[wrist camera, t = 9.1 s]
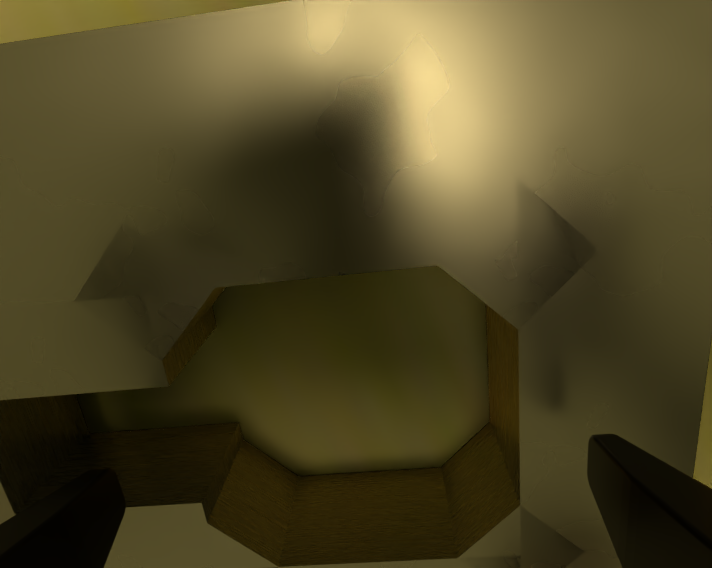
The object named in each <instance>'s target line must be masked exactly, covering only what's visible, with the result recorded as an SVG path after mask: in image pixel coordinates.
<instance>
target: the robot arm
mask: <svg viewBox="0 0 712 568" xmlns="http://www.w3.org/2000/svg"><path fill="white" fill-rule="evenodd" d="M587 478H588V482H589V486H590V488H591V491H592V494H593V496H594V499H595V501H596V504H597V506H598V509H599V511H600V514H601V516H602V519H603V521H604V524H605V526H606V529H607V531H608V534H609V536H610V539H611V541H612V544H613V546H614V549H615V551H616V554H617V556H618V559H619V561H620V563H621V566H622V568H712V489H711V488H709V487H708V486H706V485H704V484H702V483H701V482H699V481H697V480H695V479H694V478H692V477H690V476H688V475H687V474H685V473H683V472H681V471H680V470H678V469H676V468H674V467H673V466H671V465H669V464H667V463H665V462H664V461H662V460H660V459H658V458H657V457H655V456H653V455H651V454H650V453H648V452H646V451H644V450H643V449H641V448H639V447H637V446H636V445H634V444H632V443H630V442H629V441H627V440H625V439H623V438H621V437H620V436H618V435H616V434H597V435H592V436H591V437H590V438H589V441H588V460H587ZM125 509H126V501H125V497H124V494H123V491H122V489H121V486H120V483H119V480H118V477H117V474H116V472H115V471H114V470H113V469H112V468H109V467H108V468H94V469H90V470H88V471H86V472H84V473H83V474H81V475H80V476H78V477H76V478H75V479H73V480H71V481H70V482H68V483H67V484H65V485H63V486H62V487H60V488H58V489H57V490H55V491H54V492H52V493H50V494H49V495H47V496H45V497H44V498H42V499H41V500H39V501H37V502H36V503H34V504H32V505H31V506H29V507H27V508H26V509H24V510H23V511H21V512H19V513H18V514H16V515H14V516H13V517H11V518H10V519H8V520H6V521H5V522H3V523H1V524H0V568H104V566H105V564H106V561H107V558H108V556H109V553H110V551H111V548H112V545H113V543H114V540H115V538H116V535H117V532H118V530H119V527H120V525H121V522H122V519H123V517H124V514H125Z"/></svg>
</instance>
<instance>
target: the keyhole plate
mask: <svg viewBox="0 0 712 568" xmlns="http://www.w3.org/2000/svg"><path fill="white" fill-rule="evenodd" d="M429 266H439V267H440V268H442V269H443V270H444V271H445V272H447V273H448V274H449V275H450V276H452V277H453V278H454V279H455V280H457V281H458V282H459V283H460V284H462V285H463V286H464V287H465V288H467V289H468V290H469V291H470V292H472V293H473V294H474V295H475V296H477V297H478V298H479V299H480V300H482V301H483V302H484V303H485V304H486V325H487V355H488V384H489V414H490V422H489V423H488V424H487V425H486V426H485V427H484V428H483V429H482V430H481V431H480V432H479V433H478V434H477V435H475V436H474V437H473V438H472V439H471V440H470V441H469V442H468V443H467V444H466V445H465V446H464V447H463V448H462V449H460V450H459V451H458V452H457V453H456V454H455V455H454V456H453V457H452V458H451V459H450V460H449V461H448V462H447V463H445V464H444V465H443V466H442V467H440V468H424V469H409V470H393V471H377V472H362V473H346V474H331V475H315V476H297V475H296V474H294V473H293V472H291V471H290V470H288V469H287V468H285V467H284V466H282V465H281V464H279V463H278V462H276V461H275V460H273V459H272V458H270V457H269V456H267V455H265V454H264V453H262V452H261V451H259V450H258V449H256V448H255V447H253V446H252V445H250V444H249V443H247V442H246V441H244V440H243V437H242V433H241V428H240V424H239V423H226V424H213V425H200V426H186V427H173V428H159V429H146V430H133V431H119V432H106V433H92V434H89V431H88V428H87V425H86V422H85V420H84V417H83V414H82V411H81V408H80V405H79V403H78V400H77V397H76V394H82V393H94V392H106V391H118V390H131V389H143V388H155V387H167V386H170V384H171V383H172V382H173V381H174V379H175V378H176V377H177V376H178V374H179V373H180V372H181V371H182V369H183V368H184V367H185V366H186V364H187V363H188V362H189V361H190V359H191V358H192V357H193V355H194V354H195V353H196V352H197V350H198V349H199V348H200V347H201V345H202V344H203V343H204V342H205V340H206V339H207V338H208V337H209V335H210V334H211V333H212V332H213V330H214V329H215V328H216V327H217V325H216V321H215V317H214V312H213V308H212V305H213V304H214V302H215V301H216V300H217V298H218V297H219V295H220V294H221V293H222V291H223V290H224V289H225V287H228V286H238V285H248V284H258V283H268V282H279V281H289V280H299V279H309V278H319V277H329V276H339V275H349V274H359V273H369V272H379V271H389V270H399V269H409V268H419V267H429ZM711 338H712V0H290V1H284V2H277V3H270V4H264V5H257V6H250V7H244V8H237V9H230V10H223V11H217V12H210V13H203V14H197V15H190V16H183V17H177V18H170V19H163V20H157V21H150V22H143V23H137V24H130V25H123V26H117V27H110V28H103V29H97V30H90V31H83V32H76V33H70V34H63V35H56V36H50V37H43V38H36V39H30V40H23V41H16V42H10V43H3V44H0V524H1V523H3V522H5V521H6V520H8V519H10V518H11V517H13V516H14V515H16V514H18V513H19V512H21V511H23V510H24V509H26V508H27V507H29V506H31V505H32V504H34V503H36V502H37V501H39V500H41V499H42V498H44V497H45V496H47V495H49V494H50V493H52V492H54V491H55V490H57V489H58V488H60V487H62V486H63V485H65V484H67V483H68V482H70V481H71V480H73V479H75V478H76V477H78V476H80V475H81V474H83V473H84V472H86V471H88V470H90V469H94V468H108V467H109V468H112V469H113V470H114V471H115V472H116V474H117V477H118V480H119V483H120V486H121V489H122V491H123V494H124V497H125V501H126V509H125V514H124V517H123V519H122V522H121V525H120V527H119V530H118V532H117V535H116V538H115V540H114V543H113V545H112V548H111V551H110V553H109V556H108V558H107V561H106V564H105V566H104V568H622V566H621V563H620V561H619V559H618V556H617V554H616V551H615V549H614V546H613V544H612V541H611V539H610V536H609V534H608V531H607V529H606V526H605V524H604V521H603V519H602V516H601V514H600V511H599V509H598V506H597V504H596V501H595V499H594V496H593V494H592V491H591V488H590V486H589V482H588V478H587V460H588V441H589V438H590V437H591V436H592V435H597V434H616V435H618V436H620V437H621V438H623V439H625V440H627V441H629V442H630V443H632V444H634V445H636V446H637V447H639V448H641V449H643V450H644V451H646V452H648V453H650V454H651V455H653V456H655V457H657V458H658V459H660V460H662V461H664V462H665V463H667V464H669V465H671V466H673V467H674V468H676V469H678V470H680V471H681V472H683V473H685V474H687V475H688V476H690V477H692V478H693V473H694V466H695V458H696V451H697V443H698V436H699V428H700V421H701V413H702V405H703V398H704V390H705V383H706V375H707V368H708V360H709V353H710V345H711Z"/></svg>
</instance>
